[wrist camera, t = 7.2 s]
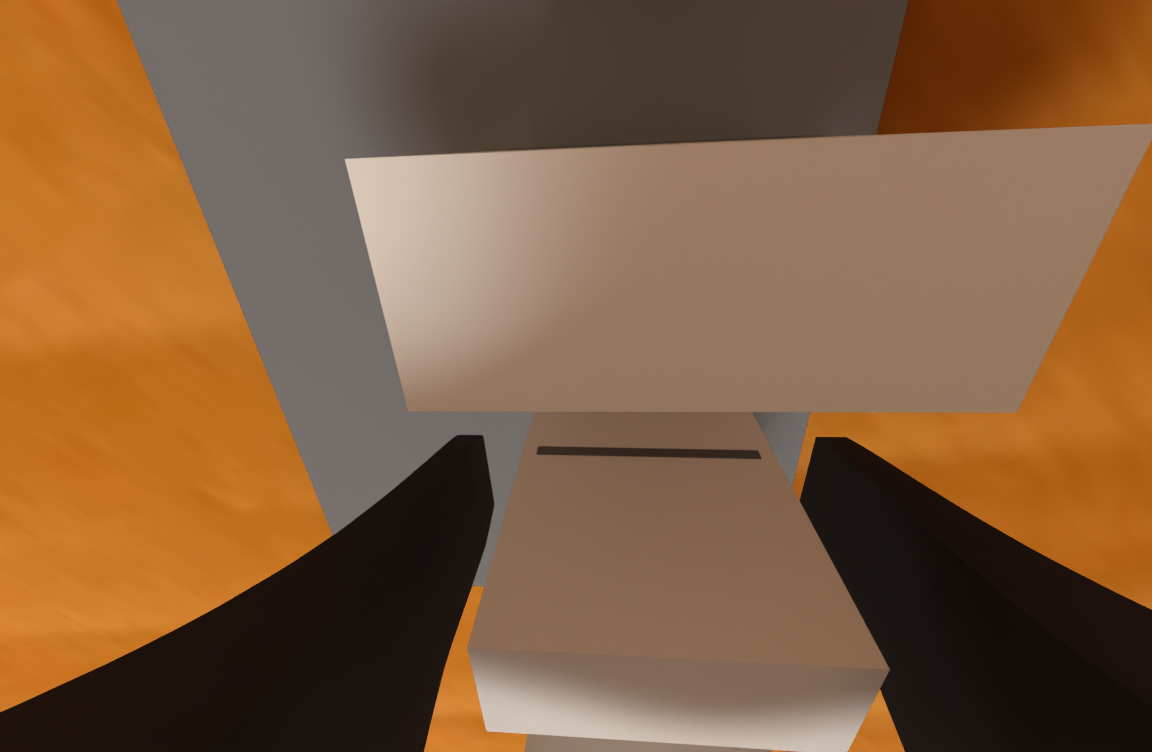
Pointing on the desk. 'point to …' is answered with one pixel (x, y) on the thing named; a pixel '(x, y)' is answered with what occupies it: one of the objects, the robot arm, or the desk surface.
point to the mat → (455, 125)
